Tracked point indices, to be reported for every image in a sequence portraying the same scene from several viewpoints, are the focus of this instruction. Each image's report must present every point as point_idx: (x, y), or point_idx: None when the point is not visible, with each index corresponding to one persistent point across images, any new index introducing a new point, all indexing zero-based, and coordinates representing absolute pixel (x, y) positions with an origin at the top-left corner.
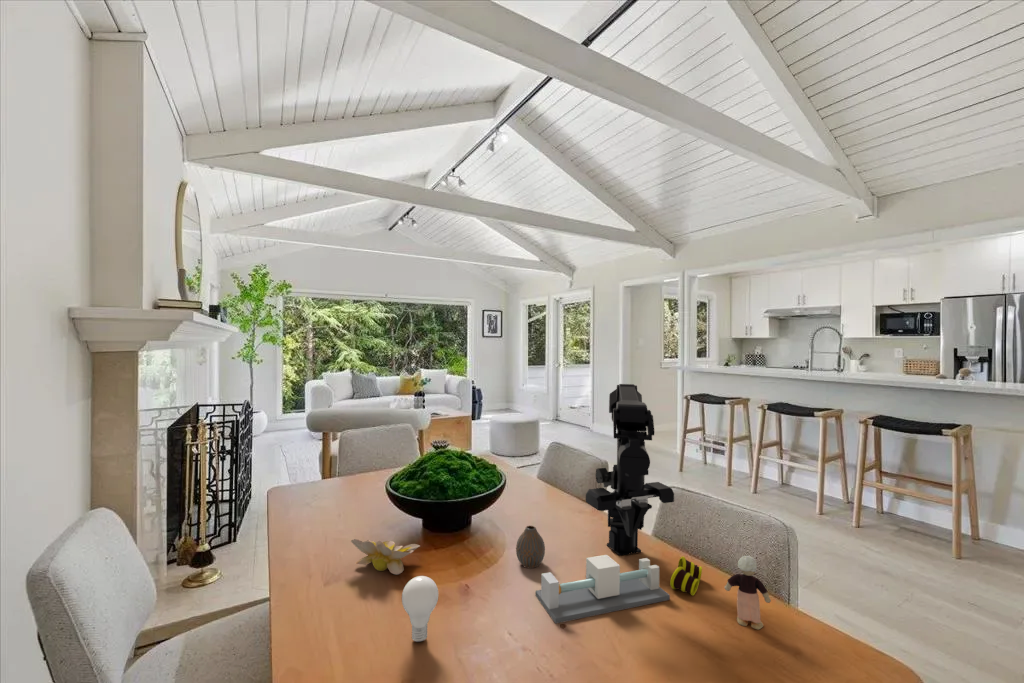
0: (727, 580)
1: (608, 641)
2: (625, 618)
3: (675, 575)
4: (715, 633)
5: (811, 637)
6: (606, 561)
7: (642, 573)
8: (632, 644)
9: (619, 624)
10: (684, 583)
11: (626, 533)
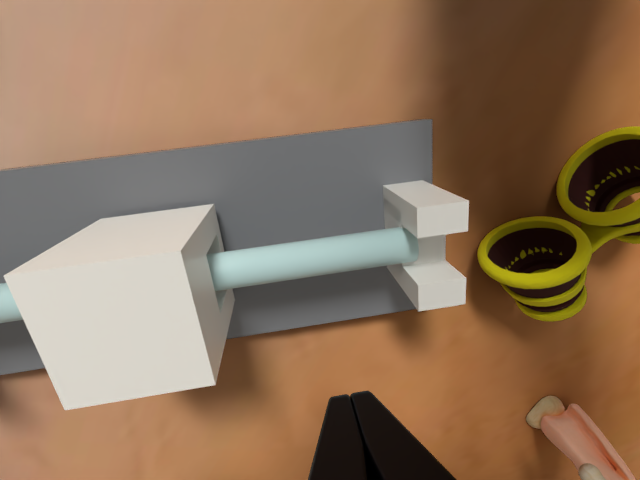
0: None
1: (128, 450)
2: (221, 368)
3: (516, 287)
4: (438, 441)
5: (631, 464)
6: (145, 336)
7: (379, 265)
8: (194, 463)
9: (189, 391)
10: (519, 300)
11: (327, 406)
